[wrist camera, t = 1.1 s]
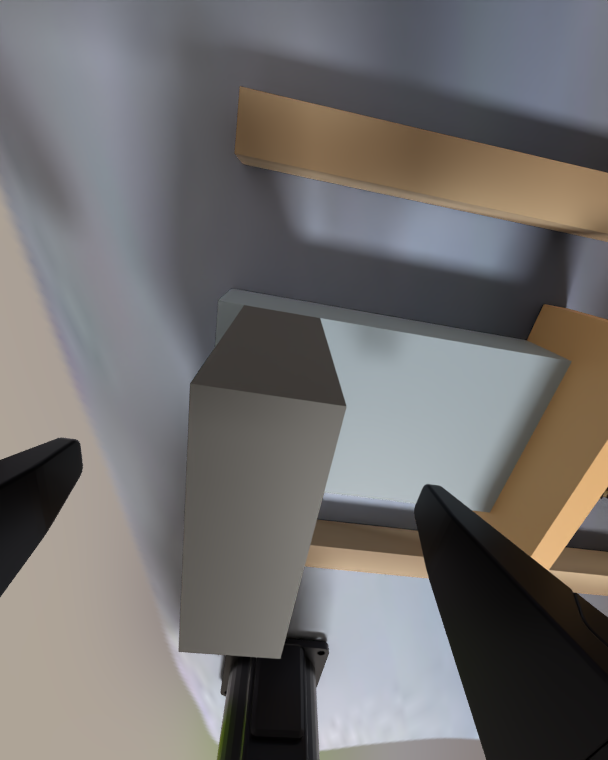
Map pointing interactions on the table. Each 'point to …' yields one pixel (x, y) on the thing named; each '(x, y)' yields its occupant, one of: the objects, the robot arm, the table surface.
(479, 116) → the table surface
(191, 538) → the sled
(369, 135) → the rails
